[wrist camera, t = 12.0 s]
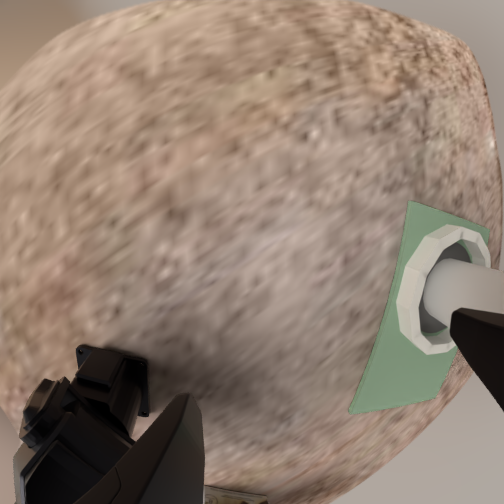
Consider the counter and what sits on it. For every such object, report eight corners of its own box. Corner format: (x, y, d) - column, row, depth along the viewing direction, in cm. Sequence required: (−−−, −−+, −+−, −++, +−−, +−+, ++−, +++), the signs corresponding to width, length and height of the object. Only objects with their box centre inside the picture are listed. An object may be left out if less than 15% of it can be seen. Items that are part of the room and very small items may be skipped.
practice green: (432, 395, 26) (443, 406, 24) (348, 411, 24) (358, 426, 22) (486, 228, 23) (502, 232, 20) (408, 200, 21) (427, 202, 18)
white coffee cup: (469, 256, 22) (545, 281, 12) (454, 319, 23) (520, 358, 13) (428, 249, 21) (518, 278, 11) (411, 321, 22) (486, 372, 12)
